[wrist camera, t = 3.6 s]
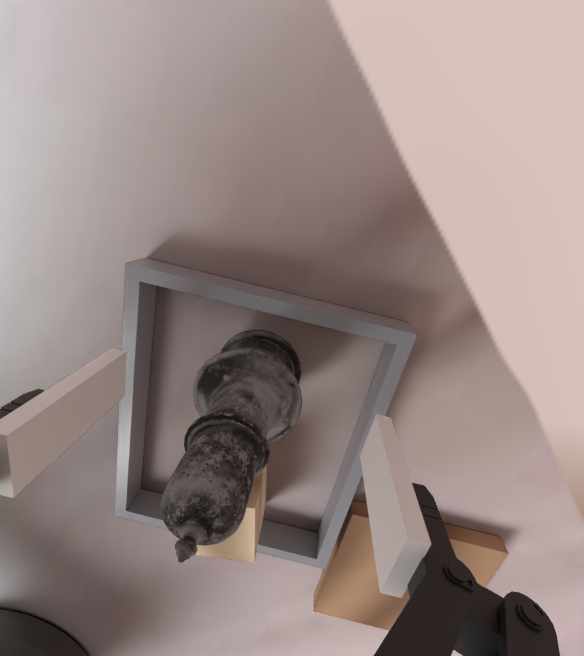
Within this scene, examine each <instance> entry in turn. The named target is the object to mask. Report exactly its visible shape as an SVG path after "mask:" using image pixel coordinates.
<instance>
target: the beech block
mask: <svg viewBox="0 0 584 656" xmlns="http://www.w3.org/2000/svg"><path fill="white" fill-rule="evenodd" d="M266 487H267V465H266V466H265V468H264V470H263V471H262V472H261V473H260V474H259V475H258V476H256V477H254V481H253V485H252V488H251V492H250V496H249V500H248V504H247V508H246V512H245V515H244V518H243V520H242V522H241V524H240V526H239V528H238V529H237V531H236V532H235V533H234V534H233V535H232V536H230V537H229V538H228V539H226V540H225V541H223V542H220V543H218V544H214V545H209V546H207V545H197V549H198V551H197V553H196V554H195V555H200V556H207V557H215V558H223V559H231V560H239V561H246V562H254V561H255V556H256V551H257V546H258V541H259V536H260V531H261V526H262V521H263V516H264V510H265V505H266Z"/></svg>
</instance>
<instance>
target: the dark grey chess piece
mask: <svg viewBox="0 0 584 656" xmlns="http://www.w3.org/2000/svg"><path fill="white" fill-rule="evenodd" d="M300 374H301V370H300V362H299V359H298V357H297V354H296V352H295V351H294V350H293V348H292V347H291V346H290V344H289V343H287V342H286V341H285V340H283V339H282V338H281V337H279V336H277V335H275V334H272V333H270V332H265V331H260V330H258V331H247V332H244V333H241V334H238V335H236V336H235V337H233V338H232V339H230V340H229V341H228V343H227V344H226V345H225V346H224V347H223V349H222V351H221V353H218V354H217V355H215V356H214V357H212V358H211V359H209V360H208V361H207V362H206V363H205V364H204V365H203V366H202V368H201V369H200V370H199V371H198V374H197V376H196V379H195V381H194V387H193V398H194V402H195V407H196V409H197V411H198V413H199V415H200V417H201V418H199V419H197V420H196V421H195V422H194V423H193V424H192V425H191V426H190V427H189V429H188V431H187V433H186V435H185V442H184V447H185V451H186V452H185V454H184V456H183V458H182V459H181V461H180V463H179V464H178V466H177V468H176V470H175V471H174V473H173V475H172V477H171V478H170V480H169V482H168V484H167V485H166V487H165V490H164V492H163V495H162V498H161V507H160V509H161V514H162V518H163V521H164V523H165V525H166V527H167V528H168V530H170V531H171V532H172V533H173V534H174V535H175V536H176V537H178V538H179V539H180V540H178V541H177V542H176V544H175V549H176V551H177V552H176V554H177V557H178V561H179V562H184V560H187V559H189V558H190V557H191V556H193V555H195V554H196V553H197V551H198V549H197V545H207V546H209V545H214V544H218V543H220V542H223V541H225V540H226V539H228V538H229V537H230V536H232V535H233V534H234V533H235V532H236V531H237V529H238V528H239V526H240V524H241V522H242V520H243V518H244V515H245V512H246V508H247V504H248V500H249V496H250V492H251V488H252V485H253V481H254V477H256V476H258V475H259V474H260V473H261V472H262V471H263V470H264V468H265V466H266V465H267V463H268V458H269V453H270V452H269V445H268V443H270V442H274V441H276V440H277V439H279V438H281V437H283V436H285V435H286V434H287V433H288V432H289V431H290V430H291V429H292V428H293V427H294V425H295V424H296V422H297V420H298V418H299V416H300V412H301V407H302V397H301V390H300V387H299V385H298V383H299V379H300Z"/></svg>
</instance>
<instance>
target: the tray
mask: <svg viewBox="0 0 584 656" xmlns="http://www.w3.org/2000/svg"><path fill="white" fill-rule="evenodd" d="M157 286H160V287H164V288H169V289H173V290H177V291H181V292H185V293H189V294H193V295H197V296H201V297H205V298H209V299H213V300H217V301H221V302H225V303H229V304H233V305H238V306H242V307H246V308H250V309H254V310H258V311H262V312H266V313H270V314H274V315H278V316H282V317H286V318H290V319H294V320H298V321H302V322H306V323H311V324H315V325H319V326H323V327H327V328H331V329H335V330H339V331H343V332H347V333H351V334H355V335H359V336H363V337H367V338H371V339H375V340H379V341H384V342H386V344H385V347H384V349H383V352H382V355H381V358H380V360H379V363H378V366H377V369H376V372H375V374H374V377H373V380H372V383H371V385H370V388H369V391H368V394H367V397H366V399H365V402H364V405H363V408H362V410H361V413H360V416H359V419H358V421H357V424H356V427H355V430H354V433H353V435H352V438H351V441H350V444H349V446H348V449H347V452H346V455H345V457H344V460H343V463H342V466H341V469H340V471H339V474H338V477H337V480H336V482H335V485H334V488H333V491H332V493H331V496H330V499H329V502H328V505H327V507H326V510H325V513H324V516H323V518H322V521H321V524H320V527H319V529H318V532H317V533H316V532H312V531H308V530H304V529H300V528H296V527H292V526H288V525H284V524H280V523H276V522H272V521H268V520H264V519H263V521H262V526H261V531H260V536H259V541H258V546H257V551H256V552H258V553H262V554H266V555H270V556H274V557H278V558H282V559H286V560H290V561H294V562H298V563H302V564H306V565H310V566H314V567H318V568H322V569H325V568H326V565H327V563H328V560H329V558H330V555H331V553H332V550H333V548H334V545H335V542H336V540H337V537H338V535H339V532H340V530H341V527H342V525H343V522H344V520H345V517H346V515H347V512H348V510H349V507H350V505H351V502H352V499H353V497H354V494H355V492H356V489H357V487H358V484H359V482H360V479H361V477H362V474H363V473H362V466H361V459H360V454H361V452H362V449H363V447H364V444H365V441H366V439H367V436H368V434H369V431H370V428H371V426H372V423H373V421H374V418H375V415H376V414H379V415H383V416H386V413H387V411H388V408H389V406H390V403H391V401H392V398H393V396H394V393H395V391H396V388H397V386H398V383H399V381H400V378H401V376H402V373H403V370H404V368H405V365H406V363H407V360H408V358H409V355H410V353H411V350H412V348H413V345H414V343H415V340H416V338H417V333H416V332H415V331H414V330H413V328H412V327H411V326H410V324H409V323H408V322H404V321H400V320H396V319H392V318H388V317H384V316H380V315H376V314H372V313H368V312H364V311H359V310H355V309H351V308H347V307H343V306H339V305H335V304H331V303H327V302H323V301H319V300H315V299H311V298H307V297H302V296H298V295H294V294H290V293H286V292H282V291H278V290H274V289H270V288H266V287H262V286H258V285H254V284H250V283H246V282H241V281H237V280H233V279H229V278H225V277H221V276H217V275H213V274H209V273H205V272H201V271H197V270H193V269H189V268H185V267H180V266H176V265H172V264H168V263H164V262H160V261H156V260H152V259H148V258H143V259H139V260H135V261H131V262H127V263H126V264H125V287H124V310H123V333H122V350H123V351H127V355H126V376H125V396H124V397H123V398H122V399H121V400H120V402H119V425H118V448H117V471H116V495H115V516H116V517H120V518H124V519H128V520H132V521H136V522H140V523H143V524H147V525H151V526H155V527H159V528H163V529H167V530H168V528H167V527H166V525H165V523H164V521H163V518H162V514H161V509H160V507H161V498H162V495H163V494H161V493H157V492H153V491H149V490H145V489H141V478H142V466H143V453H144V441H145V428H146V416H147V403H148V391H149V378H150V366H151V353H152V340H153V328H154V315H155V303H156V290H157Z"/></svg>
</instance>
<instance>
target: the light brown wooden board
mask: <svg viewBox="0 0 584 656" xmlns="http://www.w3.org/2000/svg"><path fill="white" fill-rule="evenodd" d="M443 524H444V526H445V529H446V532H447V534H448V537H449V539H450V542H451V545H452V547H453V550H454V553H455V555H456V558H457V559H459V560H460V561H462V562H463V563H464V564H465V565H466V566H467V567H468V568H469V569H470V571H471V572H472V574H473V576H474V577H475V579H476V582H477V583H478V584H480V585H481V586H483V587H486V586H487V585H488V583H489V582H490V580H491V579H492V577H493V576H494V574H495V573H496V571H497V570H498V568H499V567H500V565H501V564H502V563H503V561H504V560H505V558H506V557H507V555H508V554H509V553H508V551H507V550H506V548H505V546H504V544H503V542H502V540H501V539H500V537H498V536H494V535H490V534H486V533H482V532H478V531H474V530H470V529H466V528H462V527H458V526H454V525H450V524H446V523H443ZM409 599H410V596H409V591H408V587H407V589H406V591H405V593H404V595H403V596H402V598H399V597H395V596H391V595H387V594H383V593H380V590H379V583H378V576H377V569H376V563H375V556H374V549H373V542H372V535H371V528H370V521H369V514H368V507H367V504H366V503H362V502H358V501H354V500H352V502H351V505H350V507H349V510H348V512H347V515H346V517H345V520H344V522H343V525H342V527H341V530H340V532H339V535H338V537H337V540H336V542H335V545H334V548H333V550H332V553H331V555H330V558H329V560H328V563H327V565H326V568H325V569H324V570H323V573H322V575H321V578H320V580H319V583H318V585H317V588H316V590H315V593H314V610H313V611H315V612H319V613H323V614H326V615H330V616H334V617H338V618H342V619H346V620H350V621H354V622H358V623H362V624H366V625H370V626H374V627H378V628H382V629H386V630H389V631H390V629H391V628H392V626H393V624H394V623H395V621H396V620H397V618H398V617H399V615H400V613H401V612H402V610H403V609H404V607H405V605H406V604H407V602H408V601H409Z"/></svg>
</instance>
